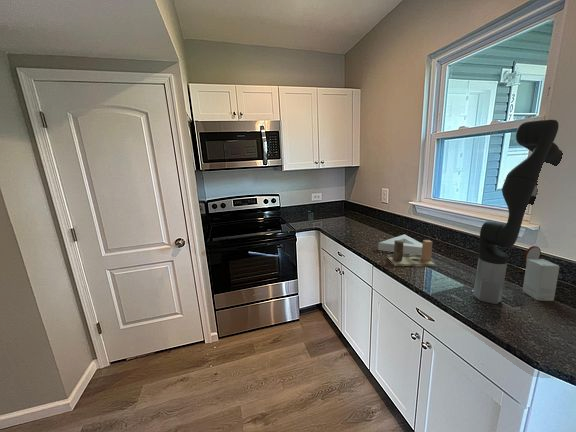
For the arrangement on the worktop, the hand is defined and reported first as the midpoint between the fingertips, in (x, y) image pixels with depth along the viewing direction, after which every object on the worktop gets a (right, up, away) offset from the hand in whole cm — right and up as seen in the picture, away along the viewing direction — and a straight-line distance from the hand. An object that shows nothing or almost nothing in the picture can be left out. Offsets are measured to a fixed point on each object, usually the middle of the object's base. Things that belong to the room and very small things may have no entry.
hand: (522, 223), depth 128 cm
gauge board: (-51, -23, +16) cm, 58 cm away
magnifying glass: (-13, -29, -15) cm, 35 cm away
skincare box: (-15, -30, -22) cm, 40 cm away
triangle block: (-43, -18, +41) cm, 62 cm away
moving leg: (-41, -21, +16) cm, 49 cm away
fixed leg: (-57, -21, +17) cm, 64 cm away
